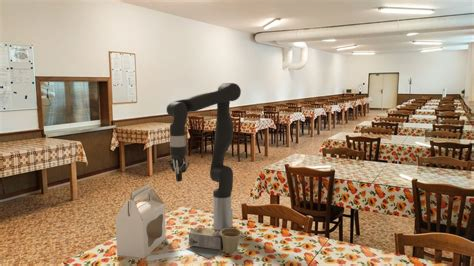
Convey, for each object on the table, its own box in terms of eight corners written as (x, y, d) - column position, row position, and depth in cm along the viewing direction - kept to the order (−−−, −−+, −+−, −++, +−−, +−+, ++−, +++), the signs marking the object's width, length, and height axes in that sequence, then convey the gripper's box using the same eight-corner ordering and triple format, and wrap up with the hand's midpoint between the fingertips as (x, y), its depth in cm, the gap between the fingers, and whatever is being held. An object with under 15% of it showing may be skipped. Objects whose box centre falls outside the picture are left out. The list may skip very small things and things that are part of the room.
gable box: (144, 259, 158) (141, 195, 155) (116, 255, 161) (113, 193, 158) (166, 238, 179) (164, 182, 176) (141, 235, 183) (139, 180, 179)
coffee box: (195, 226, 177) (227, 230, 173) (195, 238, 178) (227, 243, 174) (188, 232, 168) (221, 237, 164) (188, 246, 169) (221, 250, 165)
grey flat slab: (201, 242, 174) (201, 242, 174) (223, 252, 164) (223, 251, 164) (186, 248, 168) (186, 248, 167) (208, 258, 158) (208, 258, 158)
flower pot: (225, 257, 159) (226, 238, 158) (216, 247, 167) (217, 229, 166) (244, 253, 163) (245, 234, 162) (234, 244, 172) (235, 226, 170)
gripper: (193, 145, 170) (194, 182, 172) (175, 142, 179) (176, 177, 181) (180, 147, 164) (181, 185, 167) (162, 144, 173) (164, 180, 176)
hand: (179, 181), depth 174 cm, fingers closed
